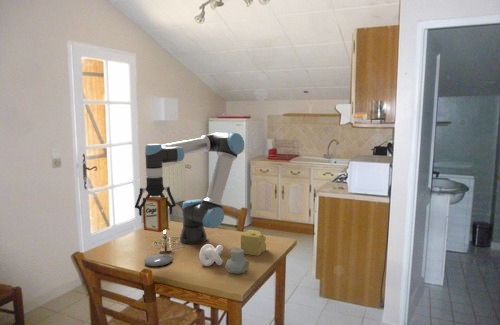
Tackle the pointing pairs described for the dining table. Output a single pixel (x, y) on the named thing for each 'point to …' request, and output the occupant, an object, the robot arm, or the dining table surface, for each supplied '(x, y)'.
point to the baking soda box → (155, 214)
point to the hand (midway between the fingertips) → (156, 221)
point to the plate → (158, 260)
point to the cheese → (253, 242)
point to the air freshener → (237, 262)
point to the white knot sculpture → (210, 255)
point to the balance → (165, 244)
